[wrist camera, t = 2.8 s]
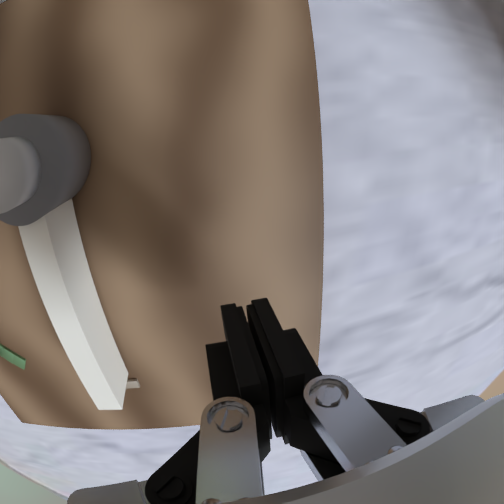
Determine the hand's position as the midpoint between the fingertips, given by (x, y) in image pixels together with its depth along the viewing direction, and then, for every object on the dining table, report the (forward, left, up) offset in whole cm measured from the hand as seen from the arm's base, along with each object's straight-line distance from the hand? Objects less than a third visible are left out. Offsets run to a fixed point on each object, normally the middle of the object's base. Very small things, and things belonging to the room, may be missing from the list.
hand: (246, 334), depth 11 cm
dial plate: (+7, -3, -6) cm, 10 cm away
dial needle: (+7, -2, -4) cm, 9 cm away
